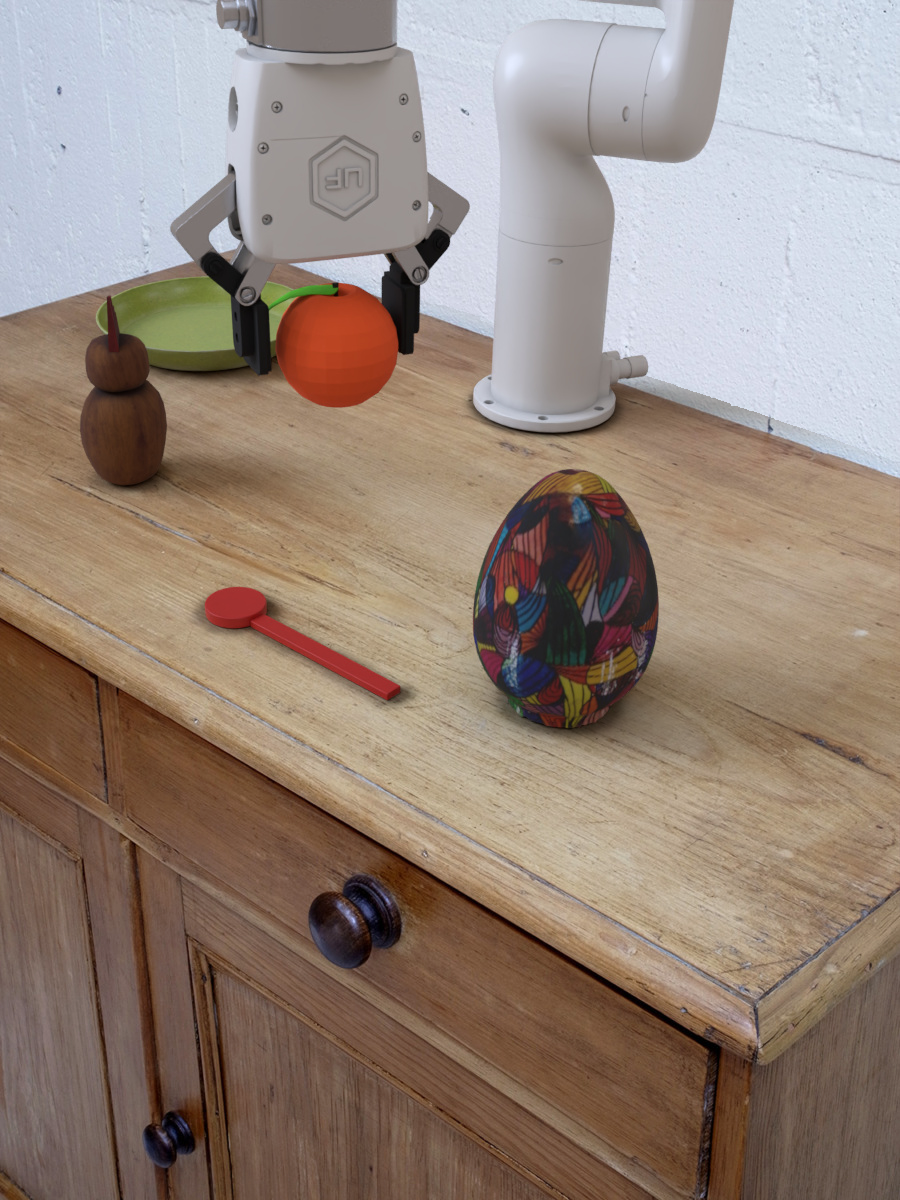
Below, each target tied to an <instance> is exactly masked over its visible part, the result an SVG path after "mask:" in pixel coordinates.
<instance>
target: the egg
mask: <svg viewBox="0 0 900 1200" xmlns="http://www.w3.org/2000/svg"><path fill="white" fill-rule="evenodd" d="M651 553H652V552H651V550H650V546H649V545H648V542H647V539H646V537H645V535H644V532H643V530H642V528H641V526H640V524H639V522H638V520H637V518H636V517H635V514H634V513H633V512H632V510H631V509H630V507H629V505H628V504H627V503H626V501H625V500H624V499H623V497H622V496H621V495H620V494H619V492H618V491H617V490H616V488H615V487H613V486H612V484H611V483H610V482H609V481H608V480H606V479H605V478H603V477H602V476H601V475H598V474H596V473H595V472H593V471H592V472H591V471H589V470H584V469H580V468H579V469H578V468H567V469H566V468H565V469H560V470H556V471H554V472H551V473H549V474H547V475H546V476H544V477H542V478H541V479H540V480H538V481H537V482H536V483H535V484H534V485H533V486H531V487H530V488H529V489H528V490H527V491H526V492H525V493H524V494H523V495H522V496H521V497H520V498H519V499H518V501H516V503H515V504H514V505H513V506H512V507H511V509H510V510H509V512H507V514H506V516H505V517H504V518H503V520H502V522H501V523H500V525H499V527H498V528H497V530H496V532H495V534H494V535H493V538H492V539H491V541H490V543H489V545H488V546H487V550H486V552H485V554H484V557H483V560H482V562H481V566H480V569H479V573H478V577H477V580H476V586H475V590H474V597H473V598H474V599H473V607H472V608H473V609H472V634H473V635H472V636H473V641H474V646H475V649H476V654H477V656H478V659H479V661H480V664H481V666H482V668H483V670H484V672H485V674H486V675H487V677H488V678H489V680H490V681H491V682H492V683H493V685H494V686H495V687H496V688H497V689H498V690H499V691H500V692H501V693H502V694H503V695H504V696H505V697H506V699H507V701H508V704H509V705H510V706H511V708H512V709H513V710H514V711H515V713H516V714H517V715H518V716H519V717H521V718H522V717H525V718H526V719H528V720H529V721H530V722H536V723H538V724H542V725H543V726H547V727H552V728H556V727H557V728H561V729H563V728H565V729H570V728H571V729H574V728H581V727H582V726H587V725H588V724H596V722H597V721H598V720H600V719H602V718H604V716H605V715H606V713H607V714H608V712H609V710H610V709H611V707H612V706H613V704H616V703H617V702H619V701H620V700H621V699H622V698H624V697H625V696H627V694H628V693H629V692H630V691H632V689H634V687H635V686H636V685H637V683H638V682H639V681H640V680H641V678H642V676H643V675H644V674H645V672H646V670H647V668H648V666H649V664H650V662H651V659H652V656H653V653H654V650H655V647H656V641H657V636H658V630H659V629H658V628H659V617H660V616H659V613H660V611H659V610H660V601H659V587H658V580H657V579H658V578H657V574H656V573H657V572H656V569H655V563H654V561H653V560H654V559H653V556H652V554H651Z"/></svg>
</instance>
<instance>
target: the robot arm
mask: <svg viewBox="0 0 900 1200" xmlns="http://www.w3.org/2000/svg"><path fill="white" fill-rule="evenodd" d="M580 1H581V2H590V3H598V4H600V3H601V4H611V5H623V6H633V7H635V6H636V7H646V8H656V9H659V10H660V11H662V12H663V14H664V19H665V28H663V27H650V26H639V25H638V26H637V25H627V24H618V23H617V22H606V21H592V20H583V19H569V18H568V19H567V18H548V19H539V20H534V21H530V22H527V23H524V24H523V25H520V26H519V27H517V28H515V29H514V30H513V31H511V32H510V33H509V34H508V35H507V36H506V38H505V39H504V40H503V42H502V43H501V45H500V47H499V49H498V51H497V54H496V57H495V60H494V65H493V70H492V71H493V72H492V73H493V76H492V93H493V104H494V114H495V120H496V121H495V122H496V128H497V138H498V150H499V151H498V152H499V180H500V181H499V211H498V229H497V233H498V235H497V252H496V253H497V254H496V274H495V295H494V299H495V300H494V318H493V335H492V336H493V337H492V356H491V357H492V358H491V359H492V360H491V361H492V362H491V374H488V375H486V376H485V377H483V378H482V379H480V380H479V381H477V383H476V384H475V386H474V387H473V394H472V395H473V396H472V403H473V405H474V407H475V409H476V410H477V412H479V413H480V414H481V415H482V416H483V417H484V418H487V419H488V420H490V421H492V422H494V423H497V424H499V425H500V426H505V427H508V428H511V429H516V430H522V431H527V432H533V433H554V434H555V433H568V432H569V433H570V432H579V431H582V430H586V429H591V428H594V427H597V426H599V425H601V424H603V423H604V422H606V421H607V420H609V419H610V418H611V417H612V416H613V414H614V412H615V409H616V394H615V392H614V391H613V390H612V388H611V386H612V385H616V384H617V383H618V382H619V380H623V379H627V380H630V379H635V378H641V377H646V376H647V374H648V372H649V363H648V359H647V357H646V356H644V355H643V354H639V355H638V354H637V355H633V356H626V357H625V356H624V357H623V358H621V354H620V352H619V351H618V350H609V351H603V349H604V338H605V328H606V327H605V326H606V315H607V305H608V295H609V294H608V293H609V285H610V284H609V283H610V273H611V272H610V271H611V263H612V262H611V261H612V250H613V241H614V233H615V221H616V210H615V203H614V198H613V193H612V191H611V189H610V187H609V186H610V185H608V182H607V180H606V178H605V175H604V173H602V171H601V168H600V167H599V166H598V163H597V162H596V160H595V158H594V157H600V156H603V157H610V158H618V159H619V158H620V159H625V160H635V161H642V162H654V163H664V164H665V163H667V164H679V163H685V162H688V161H690V160H692V159H694V158H696V157H697V156H698V155H699V154H700V153H701V152H702V151H703V150H704V148H705V147H706V145H707V143H708V141H709V139H710V137H711V134H712V130H713V127H714V124H715V119H716V115H717V110H718V105H719V100H720V99H719V98H720V93H721V87H722V81H723V75H724V68H725V62H726V61H725V60H726V55H727V49H728V42H729V38H730V37H729V36H730V31H731V30H730V29H731V24H732V23H731V22H732V16H733V10H734V4H735V0H579V2H580ZM215 11H216V12H215V13H216V14H215V15H216V20H217V24H218V26H219V28H220V29H221V30H229V29H230V30H231V29H234V31H235V32H240V33H241V36H242V39H244V40H246V41H245V42H246V47H242V48H237V49H236V50H235V51H234V56H233V60H232V61H233V62H232V69H231V76H230V83H229V93H228V101H227V102H228V105H227V116H226V127H225V128H226V129H225V130H226V131H225V159H224V160H225V161H224V163H225V164H224V169H225V170H224V172H225V173H224V175H225V176H224V177H223V178H222V179H221V180H219V181H218V182H217V183H216V184H215V185H214V186H213V187H211V188H210V189H209V190H208V191H206V193H204V194H203V195H202V196H201V197H200V198H199V199H197V200H196V201H195V202H194V203H193V204H191V205H190V206H189V207H188V208H187V209H186V210H184V211H183V212H182V213H181V214H180V215H179V216H177V217H176V218H175V219H174V220H173V221H172V222H171V223H170V226H169V230H170V234H171V235H172V236H173V237H174V239H175V240H176V241H177V242H178V244H179V245H180V246H181V247H182V249H184V251H185V252H186V253H187V254H188V256H189V257H190V258H191V259H192V261H193V262H194V263H195V264H196V265H197V267H198V268H199V269H200V270H202V273H204V274H205V275H206V276H209V277H210V278H211V279H212V280H213V281H214V282H216V283H217V284H218V285H219V286H220V287H222V288H223V289H224V290H225V291H226V292H228V293H229V294H230V295H231V312H232V329H233V343H234V348H235V351H236V353H237V355H238V356H239V357H243V358H244V360H245V361H246V362H247V364H248V365H249V367H250V368H251V370H252V371H254V373H256V374H257V376H258V377H259V376H265V375H267V376H268V375H269V373H270V372H272V370H273V369H272V367H273V366H272V358H271V344H270V321H269V308H268V305H267V304H266V303H265V302H264V301H263V300H262V299H261V292H262V290H263V288H264V286H265V284H266V282H267V281H269V279H270V277H271V275H272V273H273V271H274V269H275V268H276V266H277V265H293V264H303V263H304V264H305V263H314V262H321V261H323V262H324V261H333V260H340V259H350V258H357V257H358V258H359V257H369V256H375V255H377V256H378V255H384V257H385V259H386V260H387V262H388V264H389V267H388V269H389V270H385V271H383V275H382V276H381V304H382V305H383V306H384V307H385V308H386V309H387V311H388V312H389V314H390V316H391V318H392V320H393V322H394V324H395V327H396V330H397V337H398V354H401V355H403V356H406V355H412V354H414V352H415V334H418V333H419V332H420V326H421V325H420V323H421V318H420V317H421V285H424V284H425V283H426V282H428V280H429V278H430V270H431V269H432V268H433V267H434V266H435V264H436V263H437V262H438V261H439V260H440V259H441V257H442V256H443V255H444V254H445V253H446V252H447V250H448V249H449V247H450V245H451V238H452V237H453V236H455V235H456V233H457V231H458V230H459V228H460V226H461V225H462V223H463V221H464V220H465V219H466V216H467V215H468V213H469V211H470V208H471V205H470V202H469V200H468V199H467V198H465V197H464V196H462V195H461V194H459V193H458V192H457V191H455V190H454V189H453V188H451V187H450V186H449V185H447V184H445V183H444V182H442V181H441V180H440V179H438V177H435V176H434V175H433V174H432V173H430V172H428V157H427V145H426V144H427V143H426V131H425V123H424V114H423V105H422V99H421V92H420V84H419V78H418V72H417V67H416V62H415V57H414V52H413V51H411V50H410V49H407V48H404V47H400V46H398V0H216V5H215ZM429 203H430V204H431V205H432V208H433V210H432V214H431V215H430V217H429ZM226 219H227V225H228V229H229V232H230V234H231V235H232V237H233V238H234V239H236V240H238V241H239V244H238V245H237V247H236V249H235V251H234V253H233V255H232V257H231V259H230V260H229V261H228V260H227V259H226V258H224V257H223V256H222V255H221V254H220V253H219V251H217V250H216V248H215V247H214V245H213V244H212V243H211V241H210V233H211V232H212V231H213V230H214V229H215V228H217V226H218V225H220V224H221V223H222V222H223V221H225V220H226Z"/></svg>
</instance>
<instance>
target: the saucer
mask: <svg viewBox="0 0 900 1200" xmlns="http://www.w3.org/2000/svg"><path fill="white" fill-rule="evenodd" d="M293 290H295V289H294V288H292V287H289V286H287V285H284V284H282V283H277V282H273V281H269V280H268V281H267V282H266V284H265V286H264V288H263V290H262V292H261V299H262V300H263V301H264V302H265V303H266V304H267V305H268V307H269V306H270V305H271V304H272V303H273V302H274V301H276V300H277V299H278V298H280V297H282V296H283V295H285V294H287V293H288V292H290V291H293ZM296 298H297V297H295V298H290V299H288V300H286V301H284V302H282V303H280V304H278V305H276V306H275V307H273V308H271V310H270V311H269V321H270V344H271V359H272V358H274V357H277V354H276V350H275V347H276V333H277V330H278V327H279V324H280V321H281V318H282V316H283V313H284V312H285V311H286V309H287V308H288V307H289V305H290V304H291V303H292V301H294V300H295V299H296ZM111 299H112V304H113V306H114V310H115V312H116V316H117V321H118V326H119V331H120V333H123V334H130V335H133V336H136V337H138V338H139V339H140V340H141V341H142V342H143V343H144V344H145V347H146V350H147V352H148V359H149V366H152V367H157V368H162V369H167V370H173V371H184V372H214V371H224V370H225V371H226V370H233V369H239V368H244V367H248V366H249V365H248V364H247V362H246V361H245V360H244V358H243V357H239V356H238V355H237V353H236V351H235V348H234V343H233V329H232V312H231V295H230V294H229V293H228V292H226V291H225V290H224V289H223V288H222V287H220V286H219V285H218V284H217V283H216V282H214V281H213V280H212V279H211V278H210V277H209V276H207V275H206V276H205V275H204V276H203V275H201V276H187V277H177V278H172V279H171V278H170V279H165V280H164V279H163V280H157V281H153V282H149V283H144V284H141V285H137V286H133V287H131V288H129V289H126V290H123V291H120V292H119V293H117V294H115V295H113V296H111ZM95 322H96V325H97V326H98V327H99V329H100V330H101V333H103V335H105V334H108V320H107V300H104V302H103V303H102V304H101V305H100V306H99V307H98V309H97V311H96V313H95ZM249 367H250V366H249Z"/></svg>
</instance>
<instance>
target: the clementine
mask: <svg viewBox="0 0 900 1200" xmlns="http://www.w3.org/2000/svg"><path fill="white" fill-rule="evenodd" d="M295 297H297V298H296V299H295V300H294V301H292V303H291V304H290V305H289V307H288V308H287V309H286V311H285V312H284V313H283V316H282V318H281V321H280V324H279V327H278V330H277V333H276V347H275V350H276V354H277V355H276V358H277V363H278V366H279V368H280V370H281V372H282V375H283V376H284V378H285V380H286V382H287V383H288V384H289V386H290V387H291V388H292V389H293V390H294V391H295V392H296V393H297V394H298V395H300V396H301V397H302V398H304V399H306V400H307V401H309V402H311V403H313V404H316V405H318V406H322V407H324V408H332V409H333V408H334V409H335V408H336V409H337V408H339V409H342V408H351V407H355V406H358V405H361V404H363V403H366V402H367V401H368V400H370V399H371V398H372V397H374V396H376V395H378V394H379V393H380V392H381V390H382V389H384V387H385V385H386V384H387V383H388V382H389V380H390V379H391V378H392V376H393V373H394V370H395V368H396V366H397V362H398V355H399V352H398V337H397V330H396V327H395V324H394V322H393V320H392V318H391V316H390V314H389V312H388V311H387V309H386V308H385V307H384V306H383V305H382V301H380V300H379V299H378V297H376V296H374V295H373V294H372V293H370V292H368V291H366V290H365V289H363V288H361V287H360V286H358V285H355V284H352V283H347V282H346V283H345V282H328V283H320V284H311V285H306V286H303V287H299V288H296V289H294V290H293V291H290V292H288V293H287V294H285V295H283V296H282V297H280V298H278V299H277V300H276V301H274V302H273V303H272V304H271V305H270V306H269V307H268V308H269V311H270V310H271V308H273V307H275V306H276V305H278V304H280V303H282V302H284V301H286V300H288V299H290V298H295Z"/></svg>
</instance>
